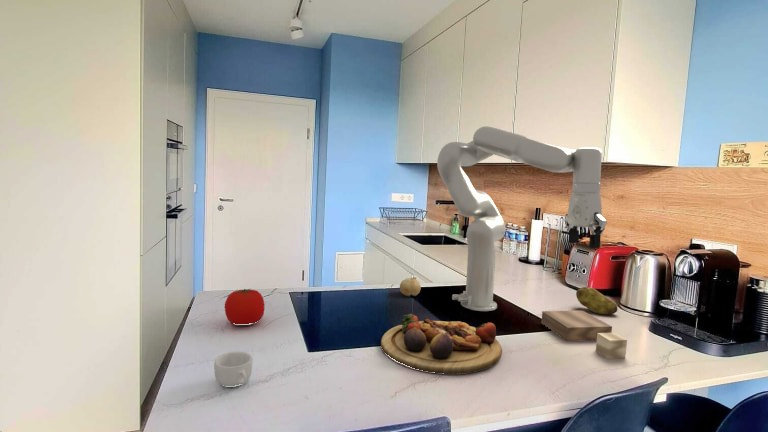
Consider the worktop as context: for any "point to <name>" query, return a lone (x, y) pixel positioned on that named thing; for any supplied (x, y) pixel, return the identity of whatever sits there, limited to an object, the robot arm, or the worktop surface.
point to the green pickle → (596, 301)
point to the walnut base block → (574, 325)
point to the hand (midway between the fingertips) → (583, 245)
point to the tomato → (244, 306)
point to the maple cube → (611, 345)
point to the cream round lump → (410, 287)
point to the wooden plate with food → (442, 345)
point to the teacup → (233, 368)
